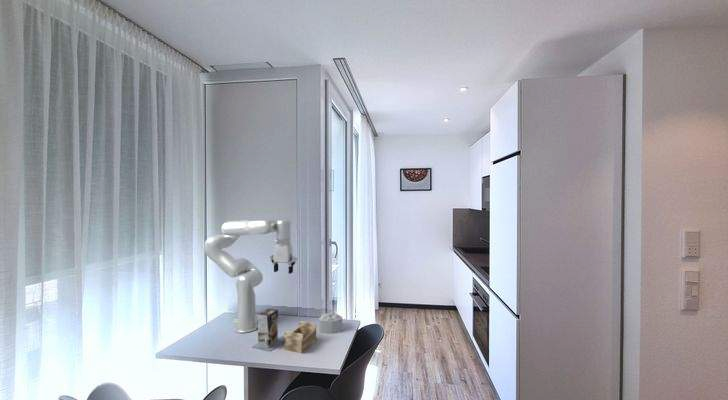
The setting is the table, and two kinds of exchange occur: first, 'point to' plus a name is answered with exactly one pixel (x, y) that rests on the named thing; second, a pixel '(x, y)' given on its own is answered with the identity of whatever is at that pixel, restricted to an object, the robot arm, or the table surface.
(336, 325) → the lumpy-topped squat cylinder
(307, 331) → the carton
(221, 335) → the table surface
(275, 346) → the mat
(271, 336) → the coffee box
